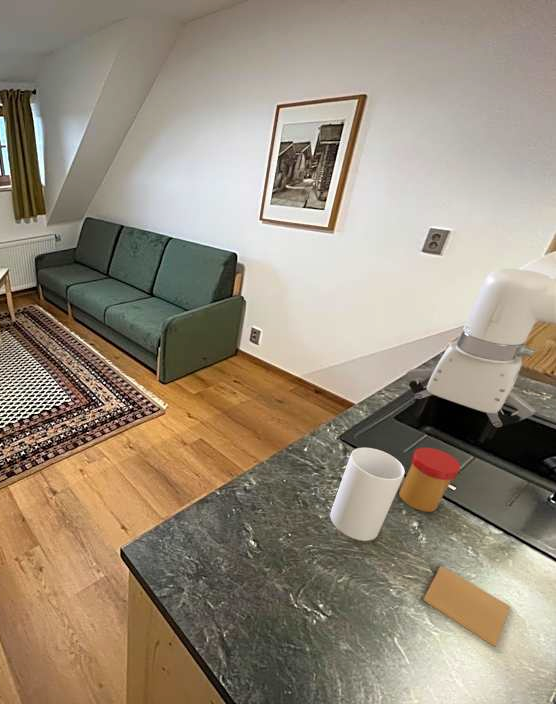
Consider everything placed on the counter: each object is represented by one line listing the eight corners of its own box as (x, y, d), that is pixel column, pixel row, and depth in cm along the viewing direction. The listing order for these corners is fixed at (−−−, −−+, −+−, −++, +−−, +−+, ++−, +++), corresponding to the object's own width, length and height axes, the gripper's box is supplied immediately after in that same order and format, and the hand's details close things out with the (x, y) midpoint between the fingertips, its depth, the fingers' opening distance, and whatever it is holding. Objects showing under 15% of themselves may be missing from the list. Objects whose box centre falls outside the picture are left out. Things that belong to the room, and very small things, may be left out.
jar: (441, 500, 83) (461, 462, 78) (431, 517, 80) (451, 478, 75) (405, 482, 88) (421, 445, 83) (394, 497, 84) (410, 460, 79)
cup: (331, 500, 85) (350, 442, 77) (377, 515, 81) (403, 456, 73) (328, 529, 79) (350, 469, 71) (379, 547, 75) (407, 486, 67)
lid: (461, 468, 79) (465, 460, 78) (450, 486, 75) (454, 478, 74) (418, 449, 84) (421, 442, 83) (406, 465, 80) (409, 458, 79)
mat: (509, 607, 65) (510, 606, 64) (495, 647, 60) (496, 645, 60) (439, 567, 71) (440, 565, 71) (422, 600, 66) (423, 598, 66)
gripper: (567, 356, 62) (516, 440, 70) (431, 323, 74) (401, 398, 83) (559, 372, 58) (506, 460, 66) (417, 335, 70) (387, 413, 79)
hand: (448, 426), depth 74 cm, fingers open, 9 cm apart
